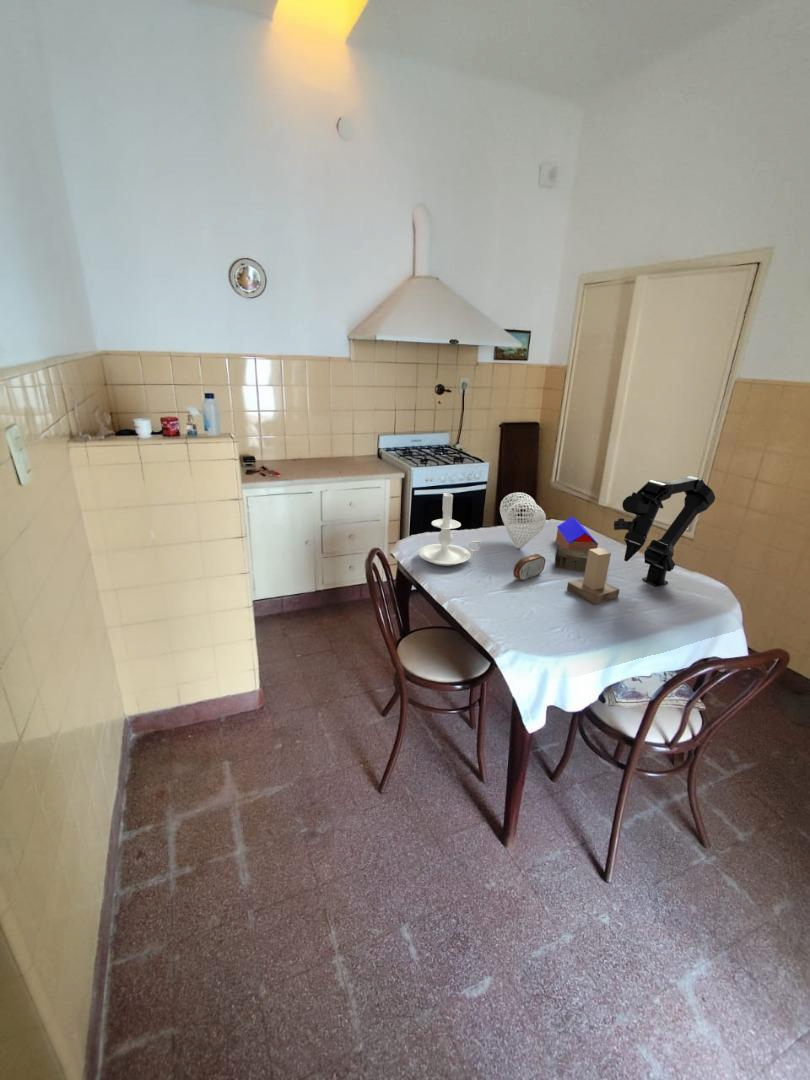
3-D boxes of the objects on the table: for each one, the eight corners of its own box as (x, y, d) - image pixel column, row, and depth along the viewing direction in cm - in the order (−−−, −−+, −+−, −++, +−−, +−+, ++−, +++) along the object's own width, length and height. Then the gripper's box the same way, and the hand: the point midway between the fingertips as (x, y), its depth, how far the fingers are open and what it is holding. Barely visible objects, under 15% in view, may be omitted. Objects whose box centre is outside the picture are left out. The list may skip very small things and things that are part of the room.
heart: (493, 535, 222) (498, 488, 214) (528, 536, 222) (533, 489, 214) (506, 560, 196) (512, 507, 188) (544, 561, 196) (552, 508, 188)
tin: (538, 571, 188) (541, 550, 185) (545, 574, 185) (548, 553, 182) (511, 580, 179) (513, 559, 176) (518, 584, 177) (520, 562, 174)
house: (566, 558, 200) (570, 531, 196) (554, 540, 219) (558, 515, 215) (596, 559, 200) (601, 533, 196) (582, 541, 219) (586, 516, 214)
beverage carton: (607, 575, 186) (610, 559, 184) (554, 569, 190) (557, 554, 188) (604, 567, 193) (607, 551, 191) (553, 561, 197) (555, 546, 195)
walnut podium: (590, 583, 179) (591, 575, 178) (618, 597, 169) (619, 589, 168) (566, 589, 173) (568, 582, 172) (594, 604, 164) (595, 596, 163)
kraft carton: (594, 581, 173) (600, 547, 168) (604, 587, 169) (611, 553, 164) (582, 583, 172) (588, 549, 167) (592, 589, 167) (599, 554, 162)
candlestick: (485, 571, 186) (492, 500, 176) (420, 571, 185) (423, 500, 174) (475, 550, 205) (480, 485, 195) (416, 550, 204) (418, 485, 193)
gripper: (622, 509, 178) (605, 549, 181) (618, 509, 161) (600, 553, 165) (654, 520, 173) (636, 560, 177) (653, 521, 157) (634, 566, 160)
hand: (626, 559), depth 170 cm, fingers open, 9 cm apart
